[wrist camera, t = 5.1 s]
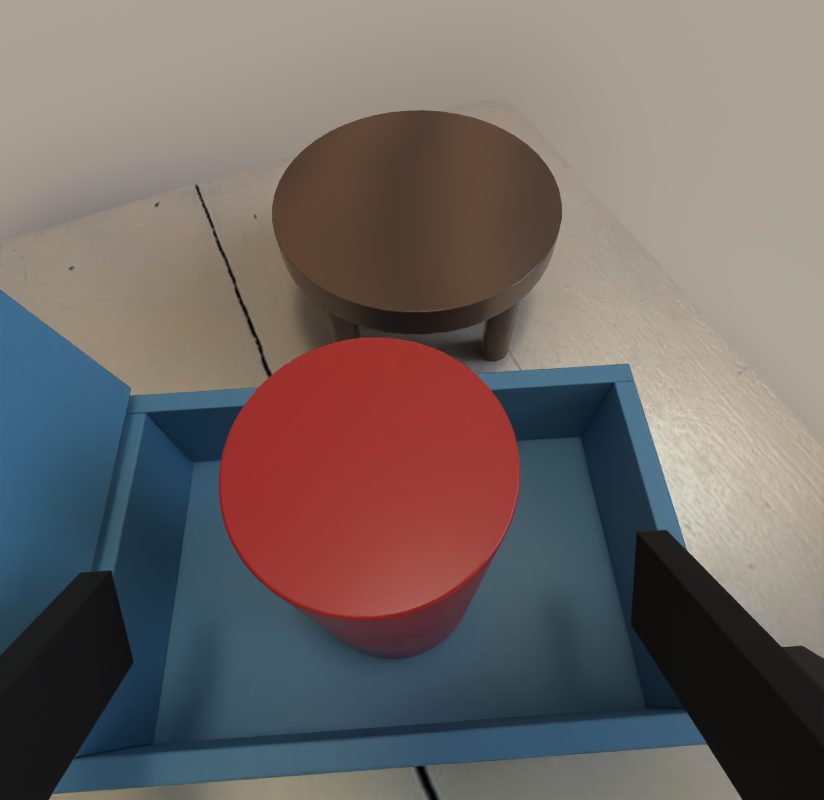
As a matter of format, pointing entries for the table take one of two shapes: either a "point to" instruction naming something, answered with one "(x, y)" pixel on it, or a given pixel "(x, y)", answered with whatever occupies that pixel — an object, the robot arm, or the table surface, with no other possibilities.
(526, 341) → the table surface
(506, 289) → the round footed platform
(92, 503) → the cool box lid
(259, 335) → the table surface
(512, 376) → the blue open box
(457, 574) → the red cylinder
